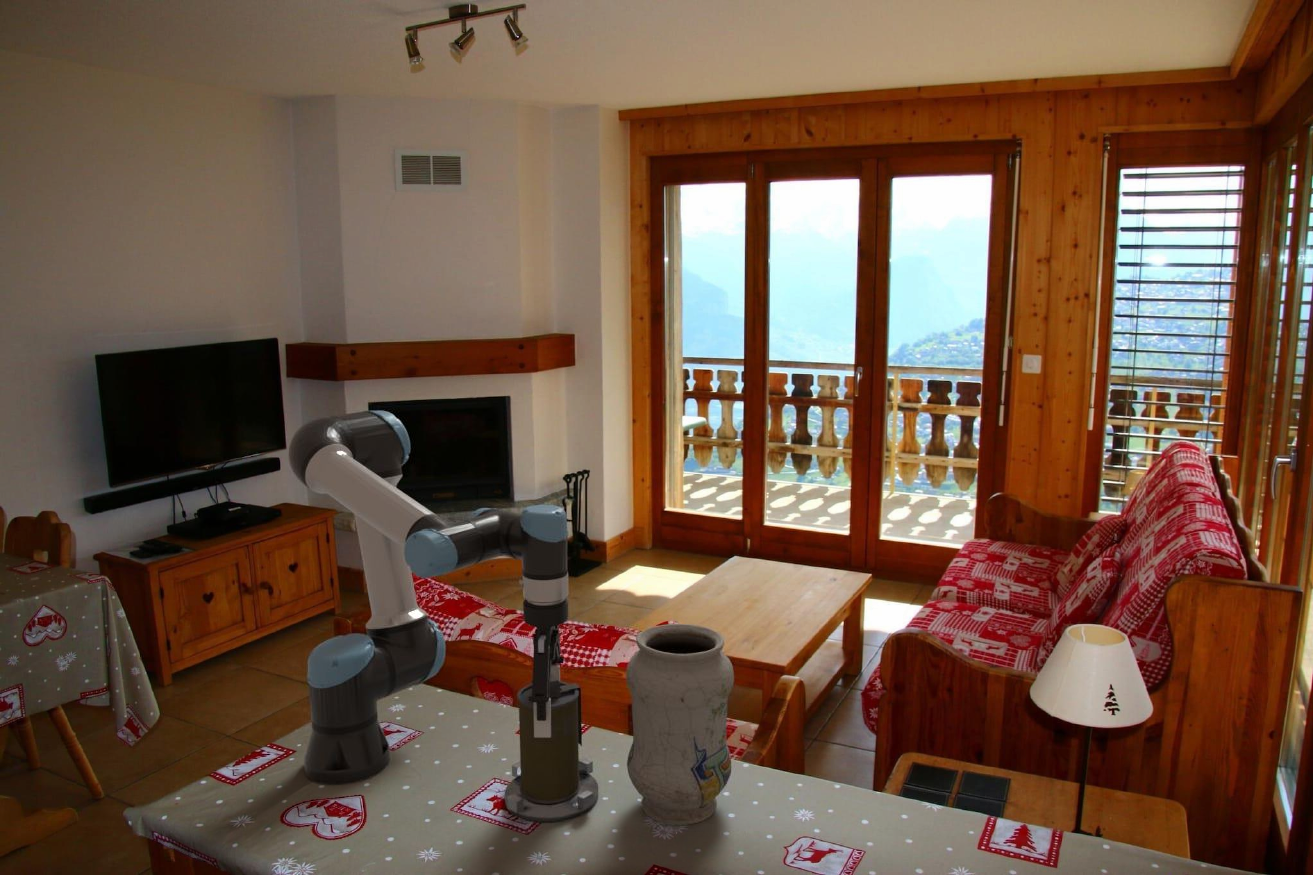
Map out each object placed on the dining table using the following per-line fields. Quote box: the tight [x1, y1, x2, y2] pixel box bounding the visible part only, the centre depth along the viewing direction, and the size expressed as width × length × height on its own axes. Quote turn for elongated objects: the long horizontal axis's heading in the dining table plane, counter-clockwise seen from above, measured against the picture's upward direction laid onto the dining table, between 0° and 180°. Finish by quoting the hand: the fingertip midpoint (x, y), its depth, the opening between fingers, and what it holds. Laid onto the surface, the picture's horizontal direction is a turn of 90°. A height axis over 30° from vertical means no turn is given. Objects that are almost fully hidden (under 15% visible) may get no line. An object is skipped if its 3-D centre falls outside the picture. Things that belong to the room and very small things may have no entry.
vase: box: [625, 623, 735, 826], centre depth 159 cm, size 18×18×30 cm
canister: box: [516, 674, 583, 804], centre depth 163 cm, size 11×10×20 cm
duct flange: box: [504, 756, 599, 824], centre depth 165 cm, size 18×18×4 cm
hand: (547, 717), depth 163 cm, fingers open, 13 cm apart
